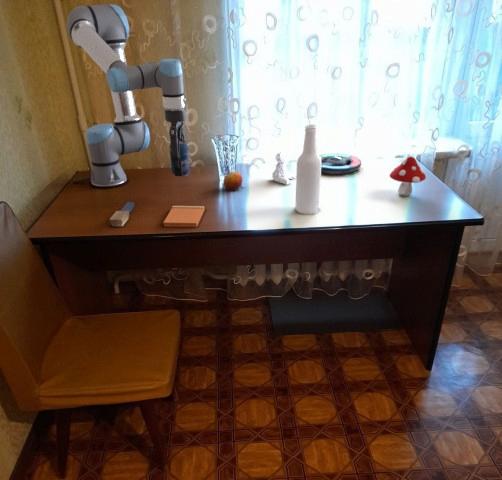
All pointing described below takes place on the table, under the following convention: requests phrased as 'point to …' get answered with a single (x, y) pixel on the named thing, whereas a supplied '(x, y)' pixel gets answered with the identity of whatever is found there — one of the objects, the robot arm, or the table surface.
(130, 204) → the brush
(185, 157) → the soda can
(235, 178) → the fruit
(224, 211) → the table surface
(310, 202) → the alcohol
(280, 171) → the white creature statuette
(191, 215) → the orange flat block
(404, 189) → the decorative mushroom
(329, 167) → the electronic game
